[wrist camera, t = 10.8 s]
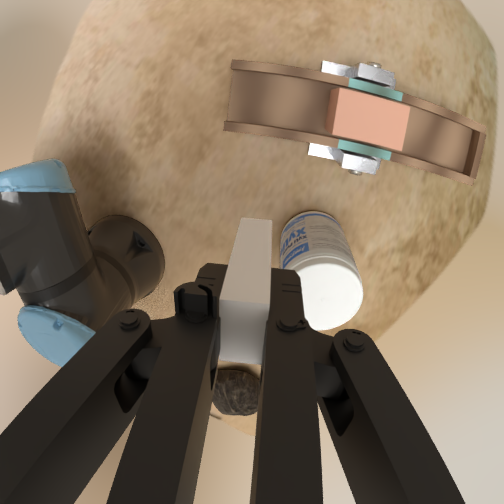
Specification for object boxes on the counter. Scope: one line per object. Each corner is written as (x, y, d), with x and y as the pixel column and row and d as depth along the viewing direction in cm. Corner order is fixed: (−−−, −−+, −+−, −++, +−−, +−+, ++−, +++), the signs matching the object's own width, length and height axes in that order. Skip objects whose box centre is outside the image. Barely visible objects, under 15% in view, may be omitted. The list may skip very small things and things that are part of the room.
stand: (307, 154, 39) (313, 167, 32) (322, 60, 33) (332, 51, 26) (377, 168, 39) (397, 185, 32) (394, 79, 33) (419, 76, 26)
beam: (234, 125, 37) (222, 131, 30) (241, 66, 33) (231, 58, 26) (445, 171, 36) (473, 187, 29) (457, 119, 32) (487, 126, 25)
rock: (198, 369, 60) (197, 409, 52) (249, 354, 59) (253, 395, 50) (220, 392, 65) (221, 429, 57) (266, 380, 64) (272, 418, 55)
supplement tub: (288, 202, 43) (290, 252, 30) (351, 216, 43) (378, 269, 30) (274, 261, 48) (270, 325, 35) (332, 272, 48) (347, 337, 35)
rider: (324, 129, 31) (332, 134, 26) (330, 89, 28) (339, 87, 24) (384, 142, 30) (401, 151, 26) (391, 105, 28) (410, 106, 23)
